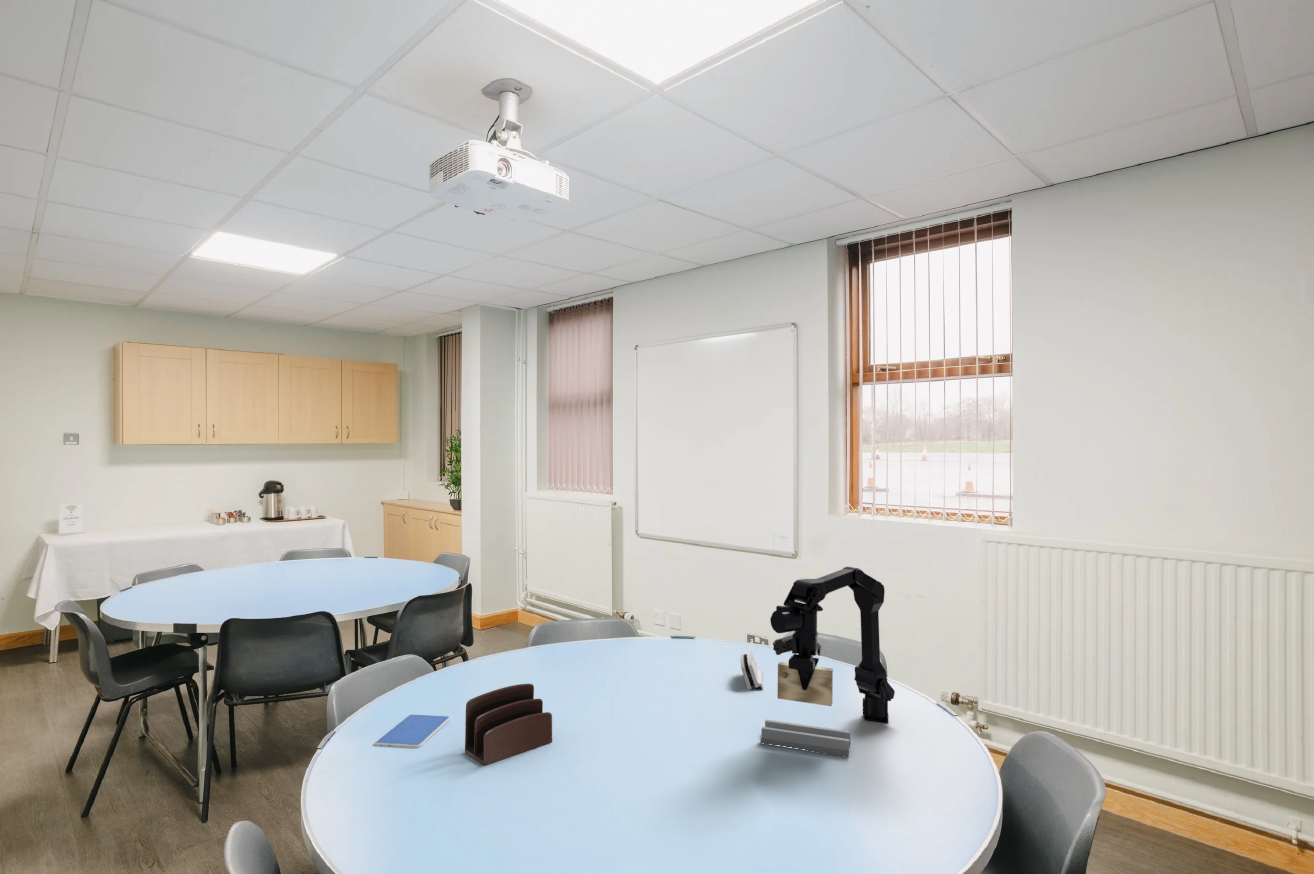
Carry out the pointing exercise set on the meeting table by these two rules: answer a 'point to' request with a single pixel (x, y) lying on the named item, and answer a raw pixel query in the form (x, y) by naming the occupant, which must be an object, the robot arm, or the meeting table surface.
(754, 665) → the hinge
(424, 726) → the tablet computer
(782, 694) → the door panel
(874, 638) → the robot arm
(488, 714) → the letter holder
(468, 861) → the meeting table surface
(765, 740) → the door track
